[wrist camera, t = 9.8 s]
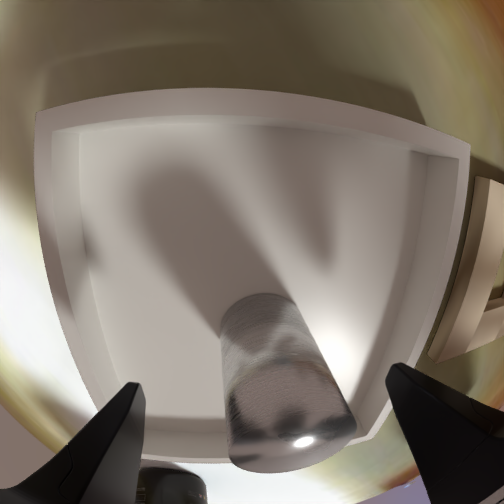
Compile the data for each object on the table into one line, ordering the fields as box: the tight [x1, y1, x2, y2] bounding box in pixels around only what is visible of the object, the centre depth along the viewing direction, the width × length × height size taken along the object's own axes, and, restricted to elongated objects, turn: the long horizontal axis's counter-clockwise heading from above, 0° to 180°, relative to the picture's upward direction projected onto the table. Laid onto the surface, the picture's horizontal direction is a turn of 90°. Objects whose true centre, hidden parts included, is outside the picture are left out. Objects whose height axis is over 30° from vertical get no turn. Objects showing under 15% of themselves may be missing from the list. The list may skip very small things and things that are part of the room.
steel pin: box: [220, 293, 357, 473], centre depth 9 cm, size 4×4×6 cm
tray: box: [34, 88, 470, 463], centre depth 11 cm, size 18×16×2 cm
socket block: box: [427, 176, 504, 364], centre depth 13 cm, size 12×12×1 cm
